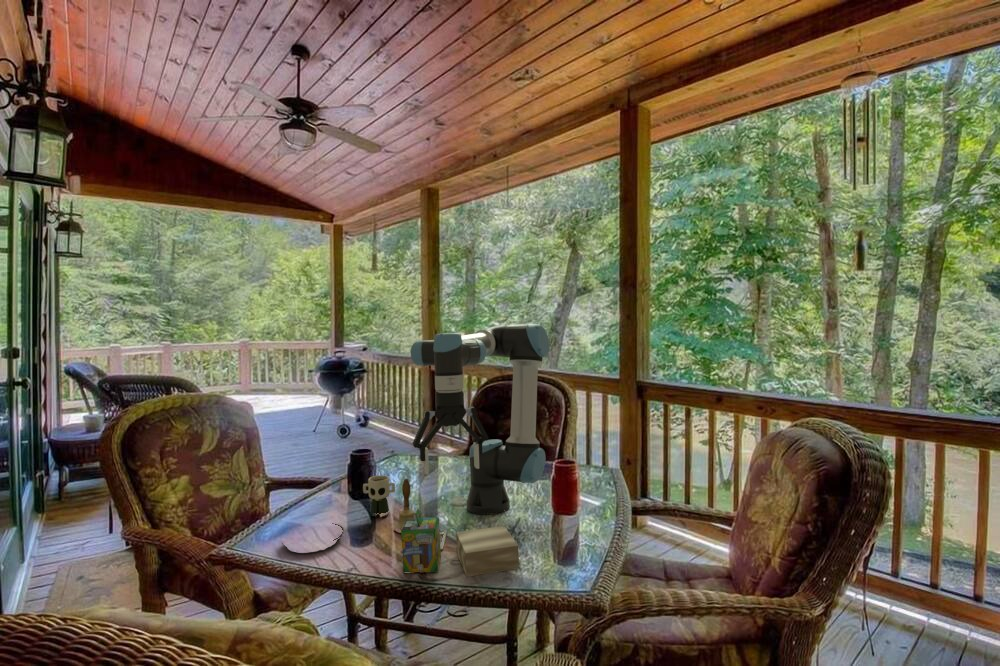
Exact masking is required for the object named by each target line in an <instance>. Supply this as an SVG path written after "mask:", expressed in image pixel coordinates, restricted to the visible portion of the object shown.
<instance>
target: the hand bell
mask: <svg viewBox="0 0 1000 666" xmlns="http://www.w3.org/2000/svg"><path fill="white" fill-rule="evenodd" d="M401 488H402V489H401V491H402V496H403V510H402V511H400V512H399V517H398V522H397V524H396V526H395V527H397V528H398V529H400V530H402V528H403V526H404V524H405V522H406V520H407V519H408V518H416V516H415V513H414V511H413V510H411V509H410V496H411V484H410V481H409V478H404V479H403V482H402V487H401Z"/></svg>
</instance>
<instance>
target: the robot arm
mask: <svg viewBox="0 0 1000 666" xmlns="http://www.w3.org/2000/svg"><path fill="white" fill-rule="evenodd" d="M549 352H550V341H549V335H548V334H547V331H546V329H545V328H544V327H543V326H542V324H538V323H530V322H529V323H520V324H500V325H495V326H492V327H491V326H490V327H487V328H485V329H479V330H477V331H476V332H474V333H470V334H463V335H462V334H461V333H460V332H450V333H447V332H446V333H445V332H444V333H436V334H435V335H434V337H433V339H430V340H429V339H427V340H426V339H422V340H417V341H414V343H412V345H411V348H410V352H409V353H410V359H411V361H412V363H413V364H414V365H416V366H422V367H423V366H424V367H426V366H429V367H430V366H432V367H433V366H434V389H435V390H436V392H435V395H434V396H435V397H434V398H435V409H434V410H427V409H425V410H424V411H423V419H422V421H421V423H420V426H419V427H418V430H417V432H416V435H415V437H414V439H413V441H412V446H413V447H414V448H416V449H419V459H420V461H421V462H423V464H424V465H423V466H424V474H425V475H426V476H427V475H430V467H429V466H430V462H429V449H428V448H427V446H428V445H429V444H430V442H431V441H432V439H433V438H434V437H435V436H436V435H437V433H438V431H439V430H440V429H441V428H442V427H446V428H447V427H451V426H453V427H457V426H458V425H461V426H462V427H463V429H464V430H465V431H466V432H467V433H468V434H469V435H470V436H471V437H472V438H473V439H474V440H475V442H473V444H472V445H470V447H469V456H468V458H469V470H470V476H469V477H470V487H469V491H468V496H467V499H466V510H467V511H468V512H470V513H472V514H476V515H494V514H495V513H496V514H499V512H500V513H503V512H505V511H507V510H508V509H510V498H509V496H508V492H507V490H506V487H505V484H504V483H505V482H504V481H508V482H516V483H522V484H534V483H536V482H538V481H539V480H540V478H541V476H543V473H544V470H545V467H546V466H545V465H546V461H547V460H546V452H545V450H544V449H543V448H542V447H540V444H541V443H540V441H539V440H538V438H537V437H536V430H537V429H536V428H537V403H538V376H539V375H538V373H539V370H538V369H539V367H540V366H541V365H542V364H543V358H546V357H547V356H548V355H549ZM486 357H500V358H508V359H509V360H508V362H509V363H510V364H511V365H512V367H513V368H512V388H511V389H512V390H511V391H512V392H511V410H510V411H511V415H510V435H509V437H508V438H507V439H506V440H505V445H503V444H504V443H503V440H502V439H497V438H496V439H490V438H489V435H488V434H487V432H486V430H485V428H484V426H483V424H482V422H481V420H480V419H479V417H478V412H477V408H476V407H474V406H470V407H468V408H465V397H464V396H465V395H464V393H465V392H464V391H463V389H464V371H463V370H464V369H463V368H464V367H469V366H476V365H480V364H481V363H483V361H485V359H486ZM466 415H468V416H470V418H471V419H472V421H473V423H474V426H475V427H476V429H477V430H478V432H479V434H480V435H478V433H476V432H475V431H474V430H473V428H472V427H471V426H470V425H469V424H468V423H467V422H466V421H465V420H464V419H463V418H464V417H465V416H466ZM433 417H435V418H436V419H437V420H436V421H435V422H434V424H433V426H432V427H431V429H430V430H429V431H428V433H427V434H426V436H425V437H424V438H423V436H424V435H425V431H426V430H427V428H428V425H429V423H430V420H432V418H433ZM506 509H507V510H506ZM504 510H505V511H504ZM502 511H503V512H502Z"/></svg>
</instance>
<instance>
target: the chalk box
mask: <svg viewBox="0 0 1000 666" xmlns="http://www.w3.org/2000/svg"><path fill="white" fill-rule="evenodd" d="M414 517H415V518H408V519H407V520H406V522H405V524H404V526H403V528H402V530H401V534H400V535H401V549H402V551H401V552H402V569H403V570H402V571H404V572H420V574H421V573H422V574H423V573H424V572H425V573H438V572H439V571H438V570H439V567H440V564H441V559H442V550H441V548H440V543H441V536H440V532H441V531H440V517H427V516H425V517H423V516H422V515H421V512H420V508H416V511H415V513H414ZM425 573H424V574H425Z"/></svg>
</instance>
